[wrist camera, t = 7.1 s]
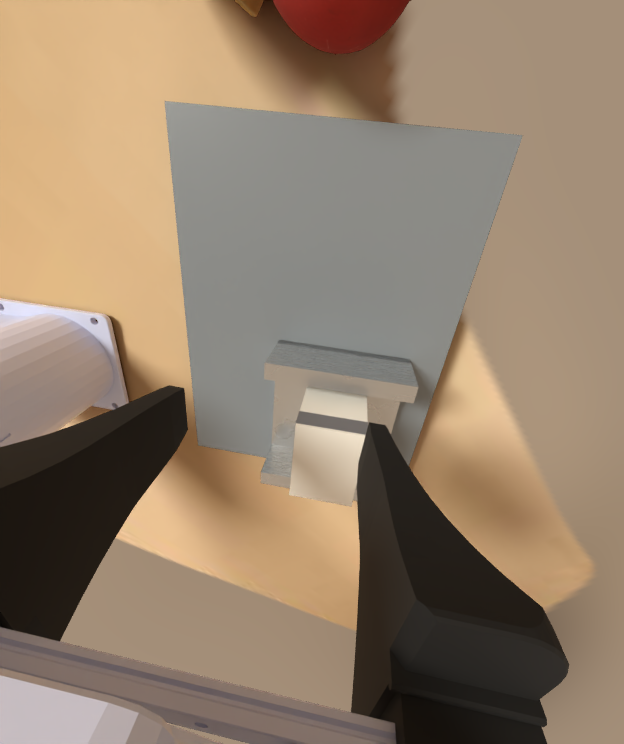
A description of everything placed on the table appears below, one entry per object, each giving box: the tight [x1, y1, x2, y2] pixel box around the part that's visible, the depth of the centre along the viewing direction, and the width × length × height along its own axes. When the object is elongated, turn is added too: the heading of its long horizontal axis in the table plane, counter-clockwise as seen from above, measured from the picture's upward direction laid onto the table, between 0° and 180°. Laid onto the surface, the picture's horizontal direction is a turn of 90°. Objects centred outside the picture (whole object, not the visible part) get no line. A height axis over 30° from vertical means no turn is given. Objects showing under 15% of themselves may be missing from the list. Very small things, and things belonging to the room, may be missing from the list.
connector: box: [289, 386, 368, 506], centre depth 18 cm, size 4×5×5 cm
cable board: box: [165, 101, 522, 466], centre depth 19 cm, size 16×21×1 cm
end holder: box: [261, 339, 418, 501], centre depth 20 cm, size 8×9×3 cm
